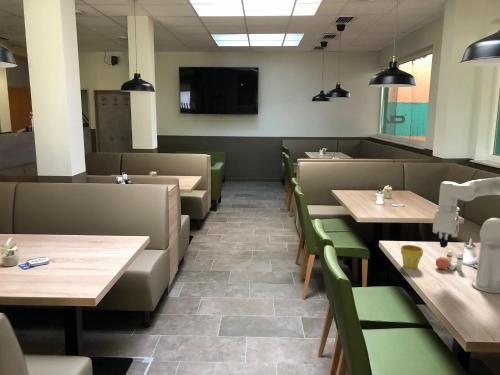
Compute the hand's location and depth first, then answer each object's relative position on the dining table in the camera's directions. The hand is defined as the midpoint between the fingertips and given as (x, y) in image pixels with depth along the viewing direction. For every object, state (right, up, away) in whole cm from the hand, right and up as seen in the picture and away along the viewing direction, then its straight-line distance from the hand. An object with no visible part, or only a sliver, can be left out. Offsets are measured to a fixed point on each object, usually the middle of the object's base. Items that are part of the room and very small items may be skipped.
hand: (443, 246), depth 189 cm
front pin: (+9, -12, +12) cm, 19 cm away
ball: (+6, -10, +13) cm, 17 cm away
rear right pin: (+13, -13, +12) cm, 22 cm away
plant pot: (-9, -13, +16) cm, 22 cm away
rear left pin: (+10, -13, +16) cm, 22 cm away
